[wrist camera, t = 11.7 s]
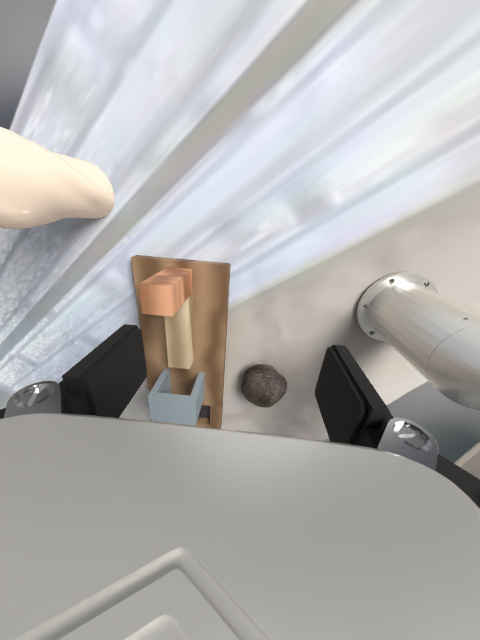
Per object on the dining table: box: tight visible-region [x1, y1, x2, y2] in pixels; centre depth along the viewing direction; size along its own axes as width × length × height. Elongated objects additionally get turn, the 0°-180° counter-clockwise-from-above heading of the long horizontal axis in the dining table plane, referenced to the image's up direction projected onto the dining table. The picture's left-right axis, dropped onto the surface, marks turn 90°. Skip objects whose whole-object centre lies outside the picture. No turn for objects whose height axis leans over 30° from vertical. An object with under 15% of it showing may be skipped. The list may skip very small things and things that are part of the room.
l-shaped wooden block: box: [139, 267, 194, 369], centre depth 35 cm, size 4×18×10 cm, turn 176°
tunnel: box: [147, 369, 205, 426], centre depth 43 cm, size 8×6×8 cm
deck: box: [131, 255, 230, 429], centre depth 45 cm, size 16×39×2 cm, turn 176°
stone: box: [241, 365, 287, 407], centre depth 45 cm, size 10×8×10 cm
